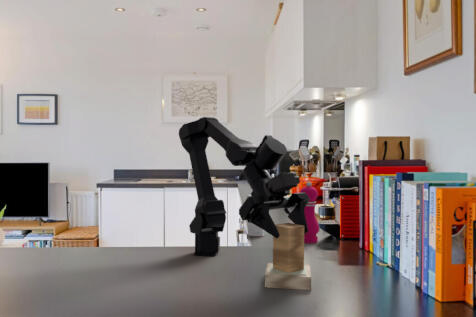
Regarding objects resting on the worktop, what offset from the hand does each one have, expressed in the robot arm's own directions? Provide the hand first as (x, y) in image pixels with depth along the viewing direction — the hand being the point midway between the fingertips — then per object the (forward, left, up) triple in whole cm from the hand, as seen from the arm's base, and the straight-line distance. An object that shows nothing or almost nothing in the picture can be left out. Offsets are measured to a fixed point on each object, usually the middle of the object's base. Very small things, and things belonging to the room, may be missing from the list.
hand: (293, 234), depth 95 cm
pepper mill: (+5, +46, -11) cm, 48 cm away
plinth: (-1, +1, -11) cm, 11 cm away
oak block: (-1, +1, -8) cm, 8 cm away
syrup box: (-13, +54, -11) cm, 57 cm away
